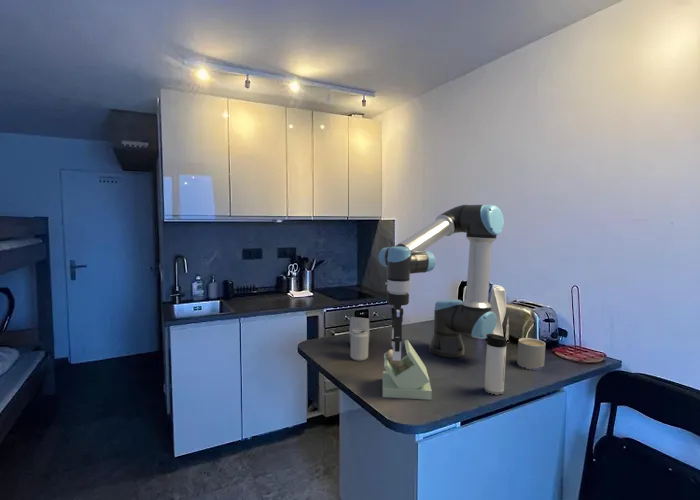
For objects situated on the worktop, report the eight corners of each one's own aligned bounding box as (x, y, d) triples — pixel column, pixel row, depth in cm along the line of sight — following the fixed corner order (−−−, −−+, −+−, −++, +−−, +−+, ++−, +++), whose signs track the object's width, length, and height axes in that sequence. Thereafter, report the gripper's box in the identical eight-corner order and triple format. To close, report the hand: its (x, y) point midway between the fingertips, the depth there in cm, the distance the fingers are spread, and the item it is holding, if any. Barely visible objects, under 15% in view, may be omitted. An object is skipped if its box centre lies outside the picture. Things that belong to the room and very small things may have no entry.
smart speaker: (371, 343, 185) (371, 313, 183) (367, 349, 176) (367, 318, 174) (351, 341, 187) (352, 312, 186) (346, 347, 178) (347, 317, 177)
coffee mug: (535, 372, 154) (536, 347, 153) (512, 364, 162) (513, 340, 161) (553, 365, 161) (555, 341, 160) (530, 358, 170) (532, 335, 169)
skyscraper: (497, 345, 186) (500, 286, 184) (483, 340, 193) (487, 283, 191) (509, 342, 190) (512, 285, 188) (495, 337, 198) (499, 282, 195)
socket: (426, 381, 143) (428, 339, 142) (431, 399, 130) (433, 353, 128) (382, 379, 145) (383, 337, 143) (382, 397, 131) (383, 351, 129)
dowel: (415, 373, 138) (391, 348, 138) (415, 376, 135) (391, 350, 135) (408, 378, 138) (384, 353, 139) (408, 382, 135) (384, 357, 135)
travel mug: (480, 387, 140) (483, 332, 138) (498, 387, 140) (501, 332, 138) (488, 395, 133) (491, 338, 131) (506, 395, 134) (510, 337, 132)
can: (366, 362, 161) (367, 333, 160) (348, 360, 162) (349, 332, 161) (369, 355, 168) (370, 328, 167) (352, 354, 170) (352, 326, 169)
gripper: (386, 285, 147) (384, 340, 149) (387, 299, 122) (385, 366, 124) (406, 285, 146) (404, 341, 148) (411, 300, 122) (409, 367, 124)
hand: (395, 353), depth 136 cm, fingers open, 13 cm apart
